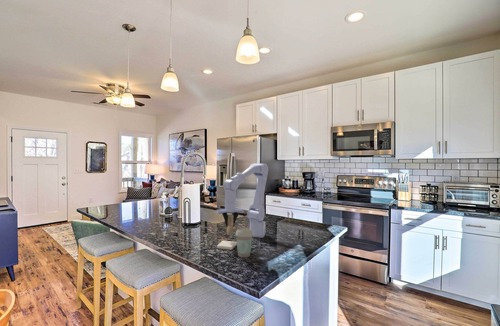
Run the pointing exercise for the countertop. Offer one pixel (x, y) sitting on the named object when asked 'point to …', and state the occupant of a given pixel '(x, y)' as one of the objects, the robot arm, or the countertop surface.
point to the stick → (230, 224)
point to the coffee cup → (244, 241)
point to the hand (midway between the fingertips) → (229, 226)
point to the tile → (226, 245)
